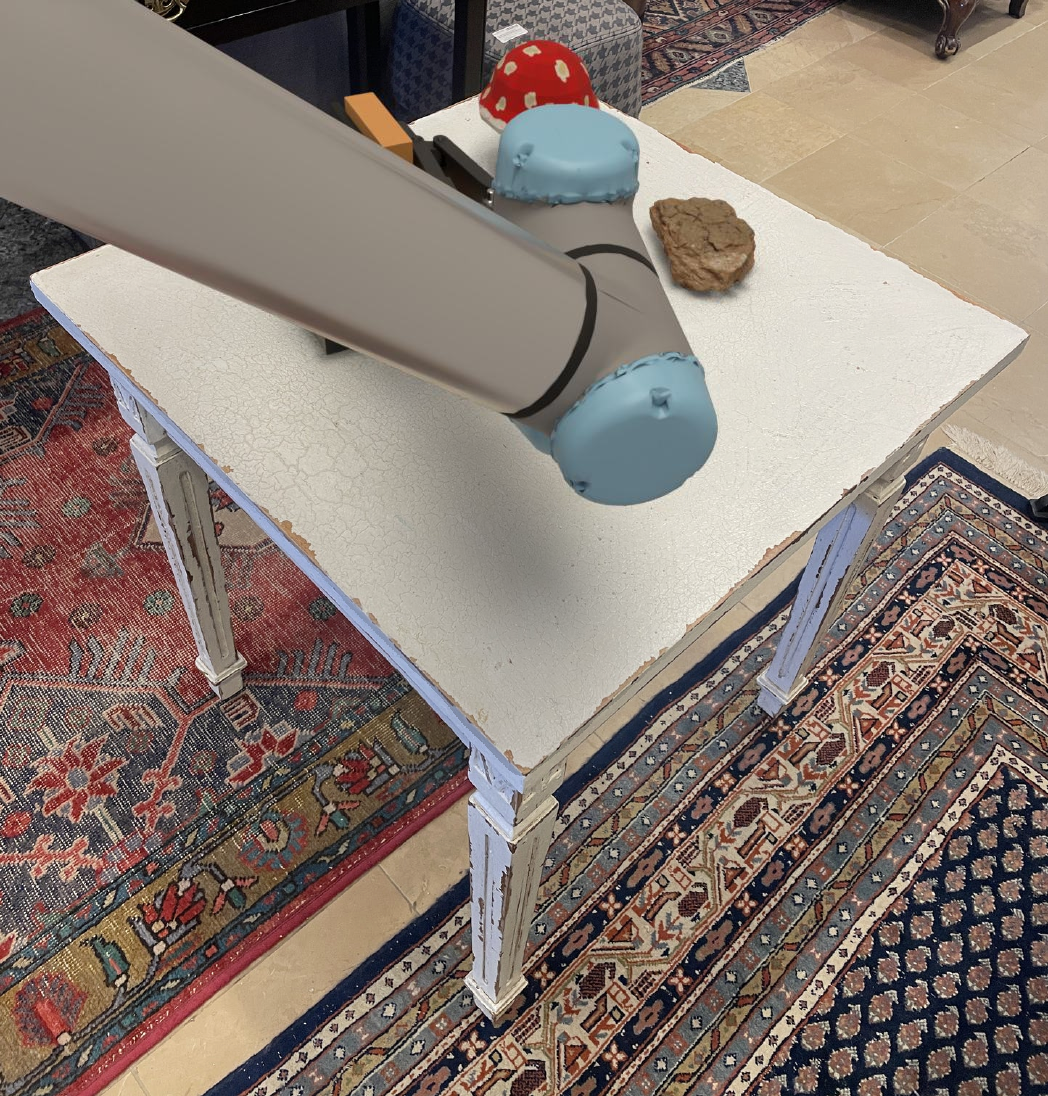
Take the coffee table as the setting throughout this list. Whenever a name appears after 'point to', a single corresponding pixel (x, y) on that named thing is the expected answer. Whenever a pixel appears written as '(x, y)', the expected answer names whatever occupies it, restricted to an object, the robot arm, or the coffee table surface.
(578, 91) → the decorative mushroom
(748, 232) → the rock
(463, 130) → the coffee table surface
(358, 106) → the toast
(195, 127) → the robot arm
